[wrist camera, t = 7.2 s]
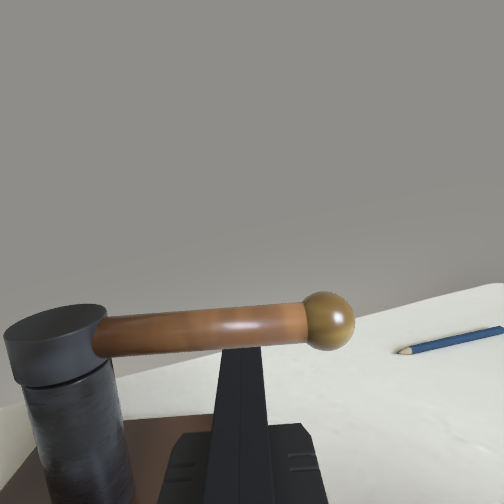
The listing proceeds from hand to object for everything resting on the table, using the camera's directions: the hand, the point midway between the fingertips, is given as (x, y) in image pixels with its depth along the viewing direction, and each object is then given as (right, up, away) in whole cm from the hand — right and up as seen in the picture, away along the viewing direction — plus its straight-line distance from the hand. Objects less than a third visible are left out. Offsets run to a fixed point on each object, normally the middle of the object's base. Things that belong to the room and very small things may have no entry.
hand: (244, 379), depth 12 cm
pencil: (+24, -6, +25) cm, 35 cm away
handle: (-3, -1, +5) cm, 6 cm away
